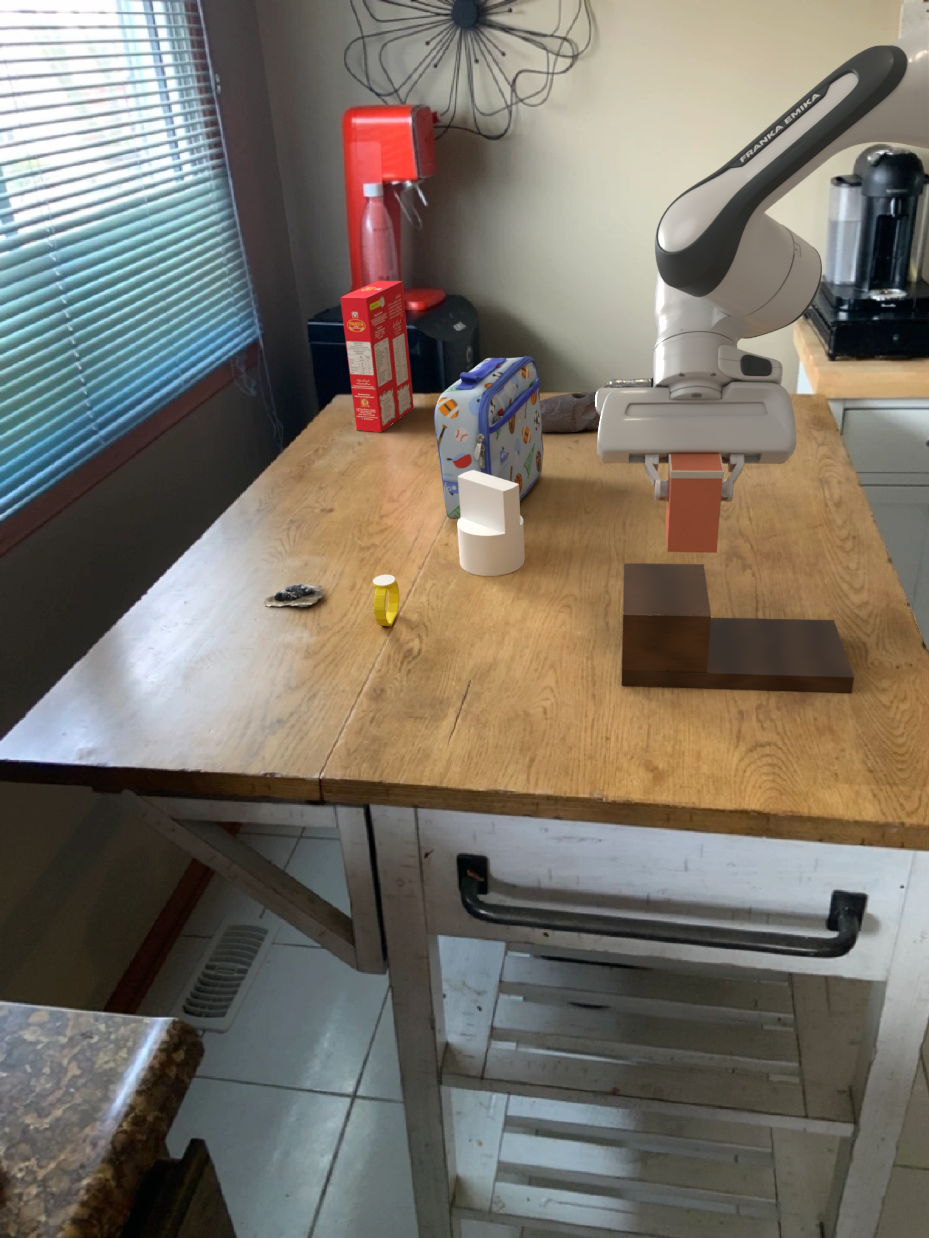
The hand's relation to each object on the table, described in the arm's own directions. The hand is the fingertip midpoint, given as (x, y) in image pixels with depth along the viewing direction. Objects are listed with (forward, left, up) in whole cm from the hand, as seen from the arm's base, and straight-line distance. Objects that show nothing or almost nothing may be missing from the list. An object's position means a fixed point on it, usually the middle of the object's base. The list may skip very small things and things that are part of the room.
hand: (693, 499), depth 100 cm
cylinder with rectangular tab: (+25, -25, -20) cm, 40 cm away
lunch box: (+27, -46, -20) cm, 56 cm away
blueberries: (+50, -13, -20) cm, 55 cm away
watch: (+36, -8, -20) cm, 42 cm away
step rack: (-5, -1, -20) cm, 20 cm away
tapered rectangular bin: (0, -1, -5) cm, 5 cm away
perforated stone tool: (+18, -79, -20) cm, 83 cm away
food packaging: (+54, -87, -20) cm, 104 cm away
